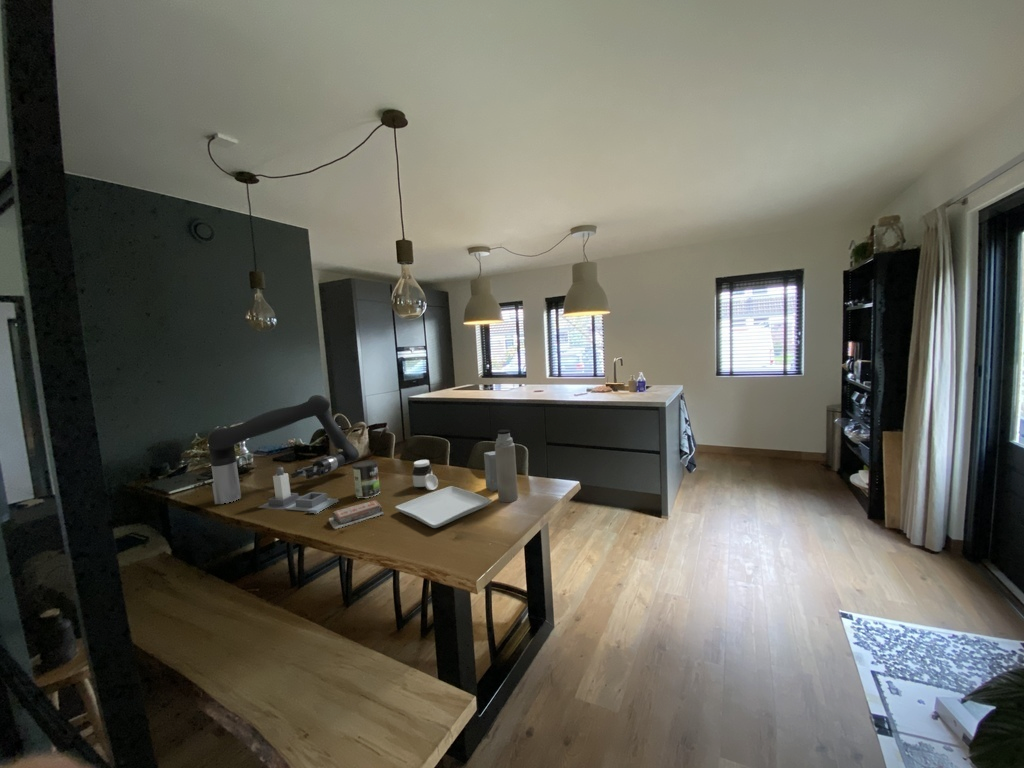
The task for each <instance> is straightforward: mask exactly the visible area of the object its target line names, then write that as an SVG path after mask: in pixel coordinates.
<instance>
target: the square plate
mask: <svg viewBox="0 0 1024 768" xmlns="http://www.w3.org/2000/svg"><path fill="white" fill-rule="evenodd" d="M492 501H493V499H490V498H488V497H486V496H483V495H481V494H478V493H475V492H472V491H469V490H466V489H464V488H459V487H456V486H453V485H450V486H447V487H444V488H441V489H438V490H435V491H432V492H429V493H426V494H424V495H421V496H419V497H417V498H413V499H410V500H409V501H406V502H403V503H400V504H398V505H396V506H394V509H396V510H397V511H399V512H400V513H402V514H403V515H406V516H408V517H411V518H413V519H415V520H417V521H419V522H421V523H423V524H425V525H426V526H428V527H431V528H433V529H437V528H440V527H442V526H445V525H447V524H449V523H451V522H454V521H456V520H458V519H460V518H463V517H464V516H467V515H469V514H472V513H474V512H476V511H479V510H481V509H484V508H485V507H486V506H488V505H489V504H490V503H491V502H492Z"/></svg>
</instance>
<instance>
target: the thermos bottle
mask: <svg viewBox="0 0 1024 768" xmlns="http://www.w3.org/2000/svg"><path fill="white" fill-rule="evenodd" d="M494 451H495V458H496V472H497V486H498V490H497V498H498V499H497V500H498V501H500V502H502V503H511V502H515V501H517V500H518V499H519V490H518V475H517V474H518V473H517V462H516V447H515V443H514V441H513V437H511V430H510V429H500V430H498V431H497V438H496V439H495V444H494Z"/></svg>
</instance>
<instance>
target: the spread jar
mask: <svg viewBox="0 0 1024 768" xmlns="http://www.w3.org/2000/svg"><path fill="white" fill-rule="evenodd" d="M411 477H412V484H413V487H414V489H416V490H420V491H421V490H426V489H427V491H434V490H436V489H437V488H438V486H439V480H438V477H437V476H436V475H435V474H433V469H432V466H431V465H430V460H429V459H420V460H416V461H414V462H413V469H412V476H411Z"/></svg>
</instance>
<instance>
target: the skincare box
mask: <svg viewBox="0 0 1024 768" xmlns="http://www.w3.org/2000/svg"><path fill="white" fill-rule="evenodd" d="M483 459H484V460H483V461H484V475H485V488H487V490H490V492H491V493H492V492H498V486H497V472H496V458H495V450H494V451H487V452H484V453H483Z"/></svg>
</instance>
